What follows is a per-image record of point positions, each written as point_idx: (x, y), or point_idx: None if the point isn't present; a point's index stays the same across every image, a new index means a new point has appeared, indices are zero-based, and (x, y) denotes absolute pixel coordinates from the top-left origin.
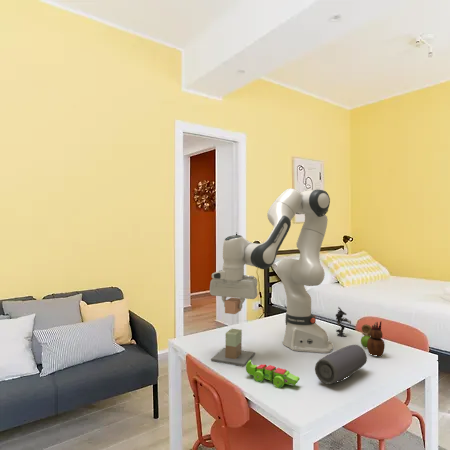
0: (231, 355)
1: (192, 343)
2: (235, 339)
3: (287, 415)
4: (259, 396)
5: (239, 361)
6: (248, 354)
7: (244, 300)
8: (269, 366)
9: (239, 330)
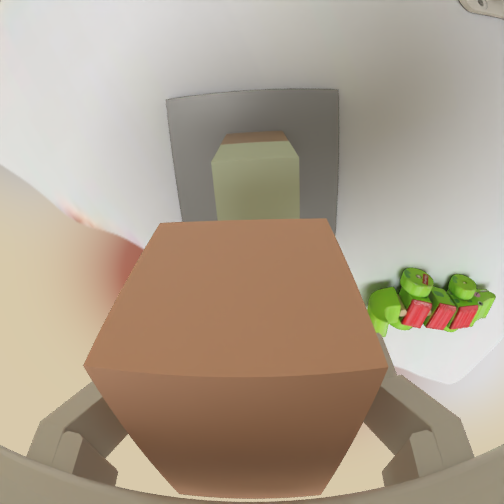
0: None
1: (22, 118)
2: None
3: (442, 379)
4: (400, 360)
5: None
6: (320, 131)
7: (448, 417)
8: (440, 318)
9: (289, 180)
